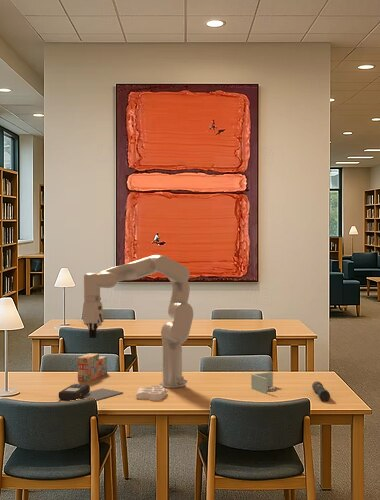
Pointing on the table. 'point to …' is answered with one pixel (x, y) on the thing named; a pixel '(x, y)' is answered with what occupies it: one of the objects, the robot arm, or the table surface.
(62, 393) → the card reader
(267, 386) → the right angle wall
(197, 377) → the table surface
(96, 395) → the mat
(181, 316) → the robot arm
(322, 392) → the flashlight
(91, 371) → the stack of blocks
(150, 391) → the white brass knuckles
